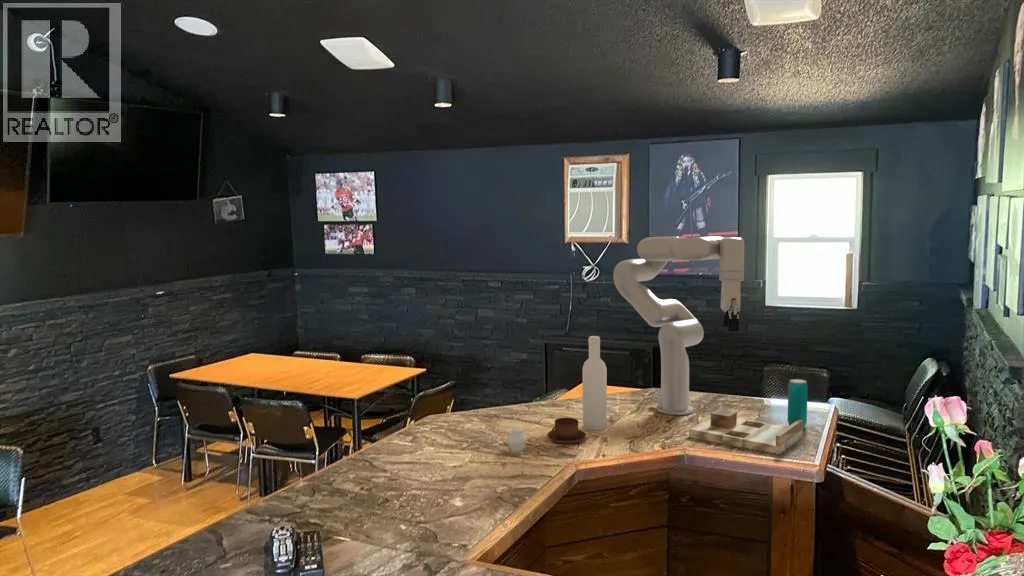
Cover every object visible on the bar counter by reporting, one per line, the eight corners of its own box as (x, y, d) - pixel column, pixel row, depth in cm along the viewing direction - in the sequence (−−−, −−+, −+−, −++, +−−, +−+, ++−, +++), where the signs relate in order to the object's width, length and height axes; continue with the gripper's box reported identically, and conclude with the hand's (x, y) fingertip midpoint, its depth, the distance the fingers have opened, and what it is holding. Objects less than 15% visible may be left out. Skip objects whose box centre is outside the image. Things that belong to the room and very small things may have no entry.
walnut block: (710, 425, 226) (710, 413, 226) (718, 421, 231) (718, 409, 230) (729, 429, 222) (729, 416, 222) (736, 424, 227) (736, 412, 226)
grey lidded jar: (503, 452, 212) (503, 429, 211) (511, 446, 218) (510, 423, 217) (523, 455, 210) (523, 431, 209) (530, 448, 215) (530, 425, 215)
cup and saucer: (575, 449, 215) (575, 428, 214) (540, 442, 221) (540, 423, 220) (592, 438, 225) (592, 418, 224) (558, 432, 231) (558, 413, 231)
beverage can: (803, 423, 235) (804, 378, 233) (808, 429, 229) (810, 382, 228) (785, 423, 235) (786, 378, 234) (790, 428, 230) (791, 382, 228)
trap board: (688, 437, 223) (688, 419, 223) (715, 421, 239) (715, 405, 238) (779, 454, 206) (780, 436, 205) (802, 437, 221) (802, 419, 220)
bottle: (610, 425, 237) (609, 335, 234) (602, 432, 230) (602, 339, 227) (587, 422, 240) (586, 334, 237) (579, 429, 233) (578, 338, 230)
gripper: (715, 273, 240) (715, 324, 242) (723, 278, 223) (723, 333, 225) (739, 273, 239) (738, 324, 241) (748, 278, 222) (747, 333, 224)
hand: (731, 328), depth 233 cm, fingers open, 9 cm apart
